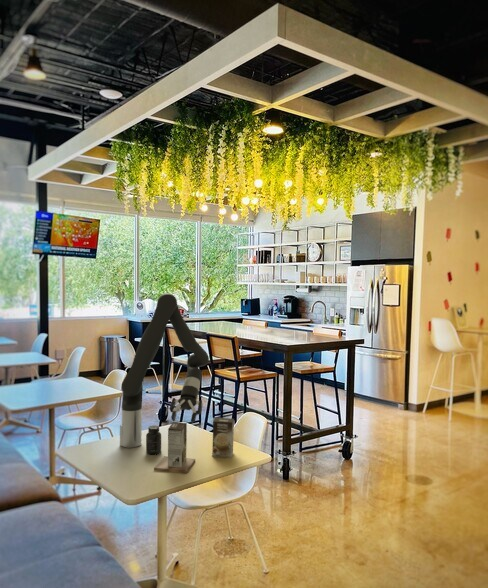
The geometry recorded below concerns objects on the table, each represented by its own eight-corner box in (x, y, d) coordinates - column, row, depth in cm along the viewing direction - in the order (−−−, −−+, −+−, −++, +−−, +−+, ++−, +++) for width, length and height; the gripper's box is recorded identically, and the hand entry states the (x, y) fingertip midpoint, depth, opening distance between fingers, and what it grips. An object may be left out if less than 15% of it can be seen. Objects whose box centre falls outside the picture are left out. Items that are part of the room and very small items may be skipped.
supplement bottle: (146, 450, 220) (147, 424, 220) (161, 450, 221) (162, 424, 220) (145, 456, 213) (145, 429, 213) (160, 455, 214) (160, 429, 214)
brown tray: (153, 470, 198) (154, 467, 198) (164, 458, 211) (164, 456, 211) (186, 473, 195) (186, 470, 195) (195, 461, 208) (195, 458, 208)
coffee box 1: (172, 458, 208) (172, 421, 207) (186, 459, 207) (187, 422, 207) (166, 466, 199) (167, 428, 198) (182, 467, 198) (182, 429, 198)
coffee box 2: (211, 456, 214) (212, 421, 214) (213, 451, 221) (214, 417, 220) (231, 457, 213) (232, 422, 213) (233, 452, 220) (234, 418, 219)
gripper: (174, 383, 219) (165, 415, 208) (204, 385, 216) (196, 418, 205) (177, 392, 224) (168, 424, 213) (207, 394, 222) (199, 426, 211)
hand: (182, 421), depth 209 cm, fingers open, 8 cm apart
